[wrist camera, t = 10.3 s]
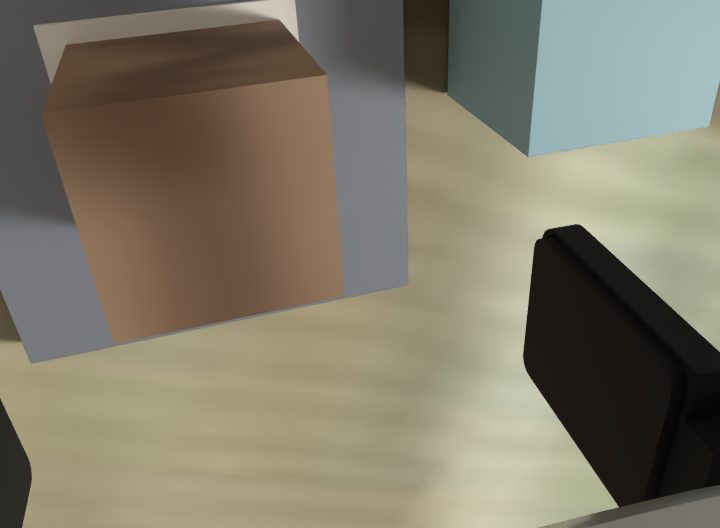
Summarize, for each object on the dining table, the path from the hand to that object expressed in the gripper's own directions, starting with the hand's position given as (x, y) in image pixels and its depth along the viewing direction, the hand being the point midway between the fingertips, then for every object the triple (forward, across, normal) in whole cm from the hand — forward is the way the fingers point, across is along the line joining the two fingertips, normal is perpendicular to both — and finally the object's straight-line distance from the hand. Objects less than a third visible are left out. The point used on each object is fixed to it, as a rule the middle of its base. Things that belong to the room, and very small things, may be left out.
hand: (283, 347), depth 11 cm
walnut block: (+12, +1, 0) cm, 12 cm away
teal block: (+13, -11, -2) cm, 17 cm away
